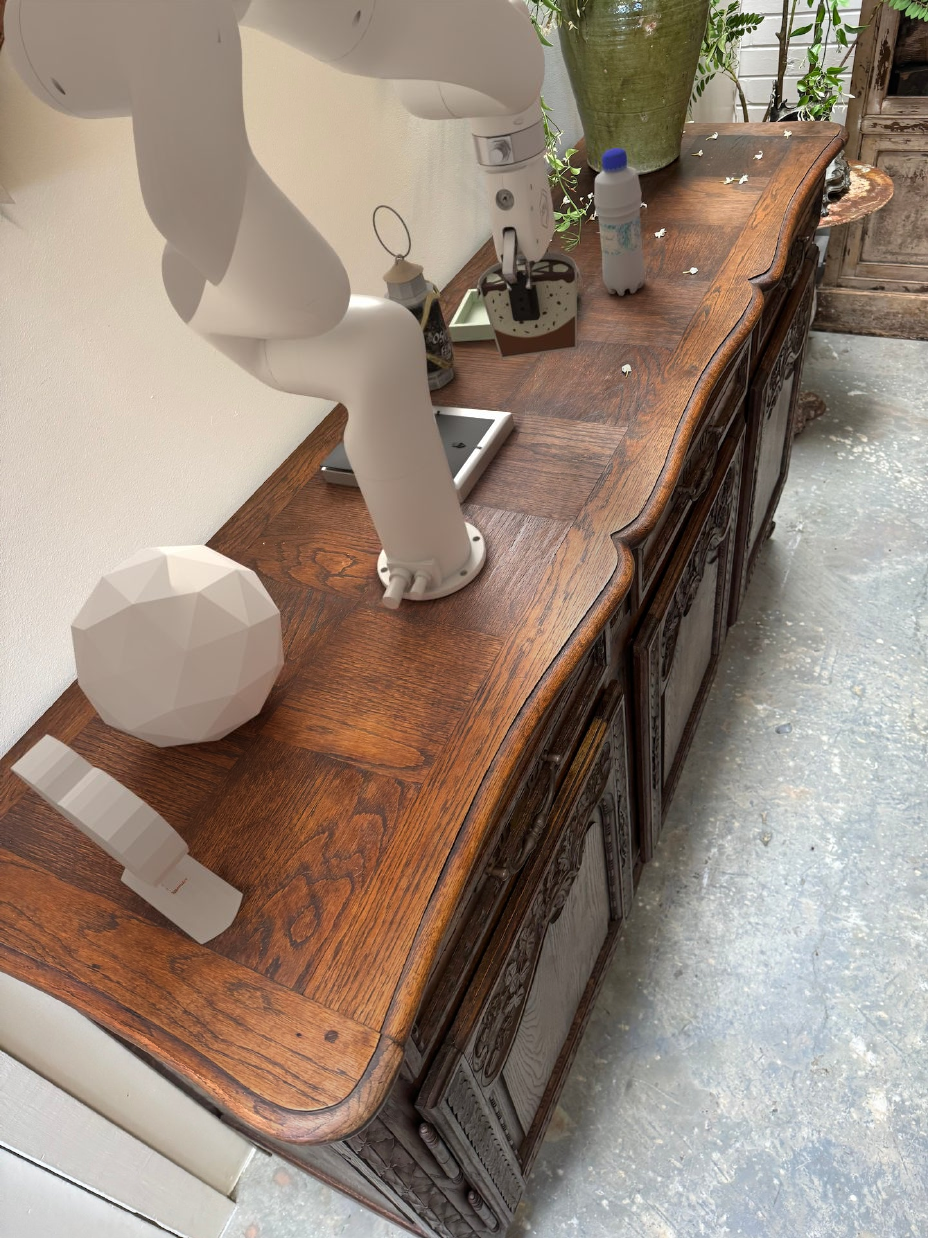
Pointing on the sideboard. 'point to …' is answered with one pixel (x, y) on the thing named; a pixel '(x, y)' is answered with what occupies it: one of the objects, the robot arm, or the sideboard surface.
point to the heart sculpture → (131, 839)
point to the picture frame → (446, 446)
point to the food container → (555, 305)
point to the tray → (471, 320)
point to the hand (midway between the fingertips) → (533, 303)
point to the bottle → (619, 223)
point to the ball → (178, 645)
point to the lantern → (421, 311)
